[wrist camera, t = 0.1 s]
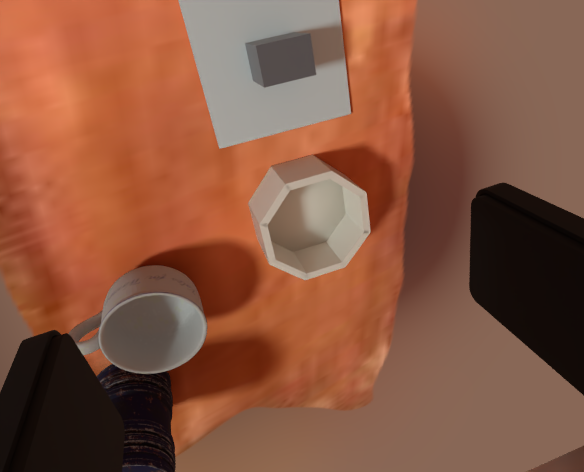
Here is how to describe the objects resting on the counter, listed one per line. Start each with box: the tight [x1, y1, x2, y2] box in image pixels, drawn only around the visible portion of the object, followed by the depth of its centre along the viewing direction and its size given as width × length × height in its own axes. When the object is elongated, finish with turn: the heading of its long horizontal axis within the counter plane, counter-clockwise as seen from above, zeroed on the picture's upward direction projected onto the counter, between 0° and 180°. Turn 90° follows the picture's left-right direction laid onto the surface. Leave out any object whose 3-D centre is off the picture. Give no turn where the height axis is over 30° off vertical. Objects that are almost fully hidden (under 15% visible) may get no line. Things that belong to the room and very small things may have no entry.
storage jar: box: [97, 364, 175, 472], centre depth 49 cm, size 10×10×15 cm
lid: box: [178, 0, 351, 148], centre depth 40 cm, size 15×15×6 cm
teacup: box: [69, 265, 207, 374], centre depth 46 cm, size 14×11×8 cm
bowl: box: [248, 155, 371, 280], centre depth 48 cm, size 12×12×6 cm
